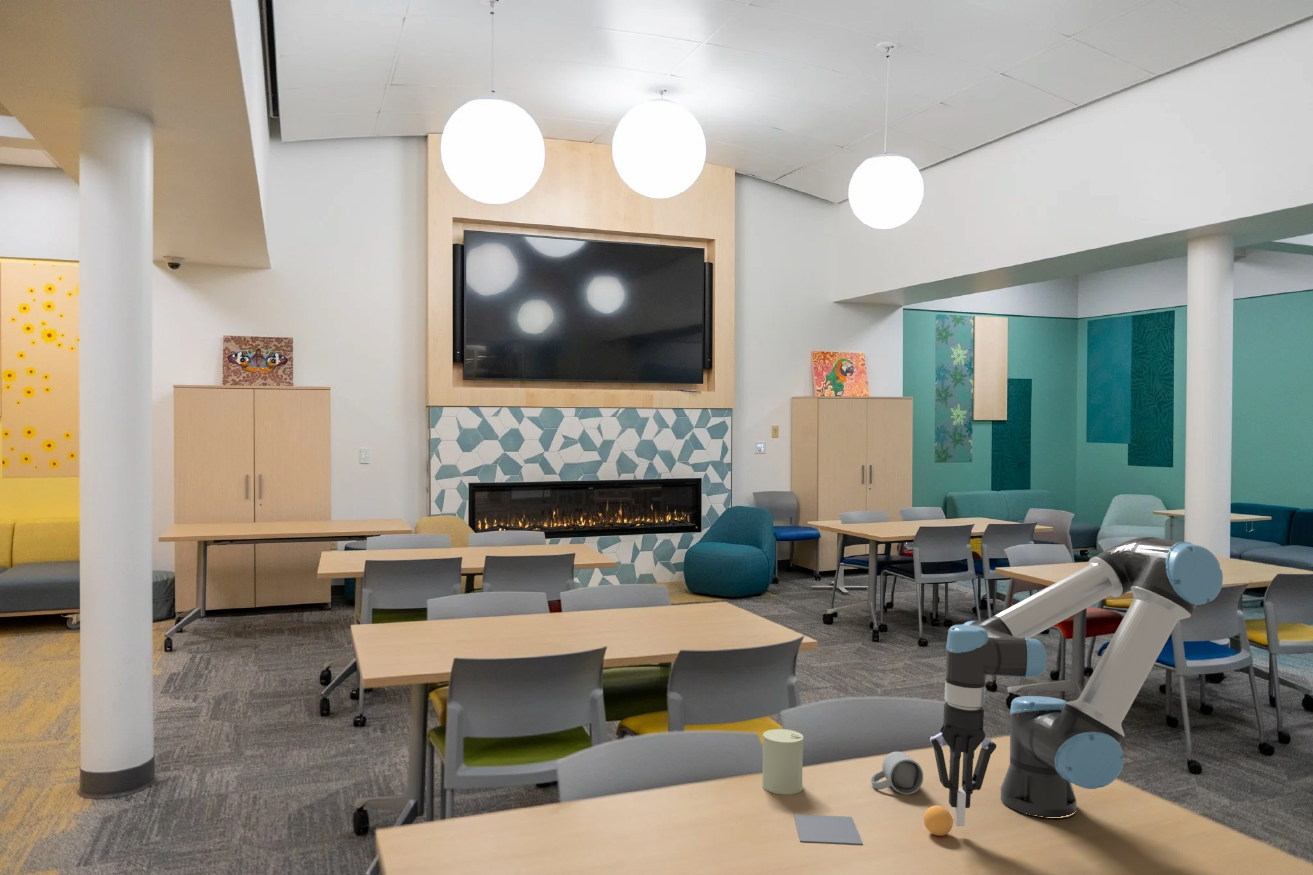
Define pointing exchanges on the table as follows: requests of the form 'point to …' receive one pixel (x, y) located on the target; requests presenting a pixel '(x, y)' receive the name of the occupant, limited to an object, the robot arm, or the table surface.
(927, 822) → the ball
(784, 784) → the can
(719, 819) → the table surface
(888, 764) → the ceramic mug
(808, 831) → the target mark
